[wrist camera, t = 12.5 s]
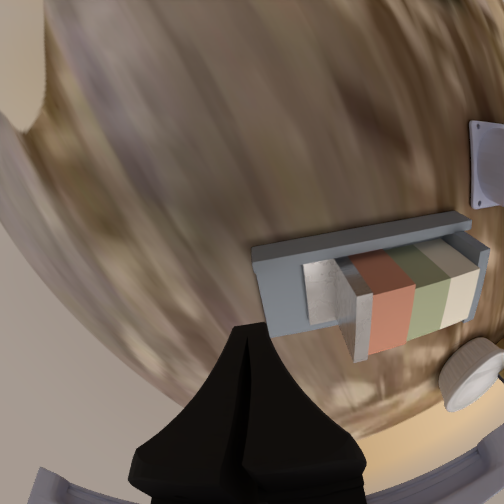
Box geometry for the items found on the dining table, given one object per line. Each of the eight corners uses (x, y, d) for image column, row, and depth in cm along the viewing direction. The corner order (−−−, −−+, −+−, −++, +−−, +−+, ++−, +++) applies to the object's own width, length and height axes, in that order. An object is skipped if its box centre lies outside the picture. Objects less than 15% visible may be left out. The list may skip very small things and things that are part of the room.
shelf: (454, 210, 19) (499, 236, 13) (445, 287, 22) (478, 322, 17) (251, 247, 20) (252, 292, 15) (269, 330, 23) (274, 383, 18)
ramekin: (490, 315, 25) (512, 339, 20) (489, 356, 28) (504, 377, 24) (427, 365, 27) (444, 394, 22) (435, 396, 31) (448, 420, 26)
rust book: (380, 247, 19) (415, 284, 14) (378, 300, 21) (405, 343, 16) (344, 254, 19) (372, 295, 14) (345, 308, 21) (367, 355, 16)
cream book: (440, 238, 19) (480, 268, 14) (434, 283, 21) (467, 318, 16) (412, 244, 19) (451, 278, 14) (408, 290, 21) (439, 329, 16)
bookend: (344, 252, 19) (373, 292, 14) (346, 312, 21) (367, 359, 16) (301, 260, 19) (318, 304, 14) (308, 320, 22) (322, 370, 17)
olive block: (412, 244, 19) (451, 278, 14) (408, 290, 21) (439, 329, 16) (380, 251, 19) (415, 288, 14) (378, 298, 21) (406, 341, 16)
